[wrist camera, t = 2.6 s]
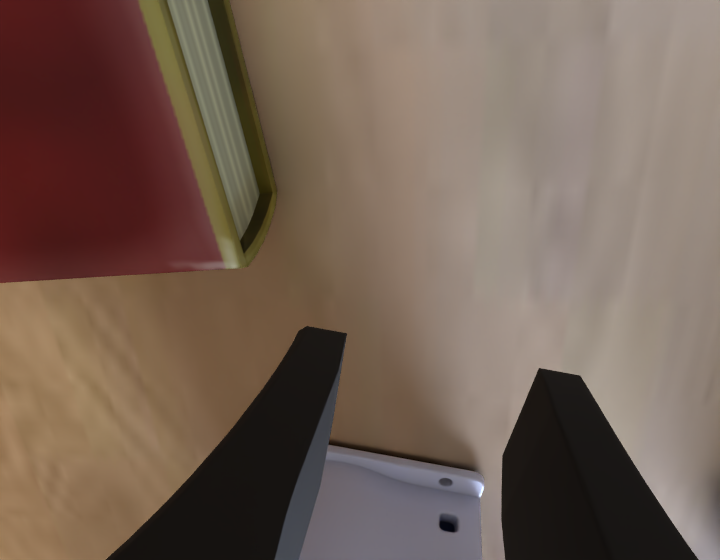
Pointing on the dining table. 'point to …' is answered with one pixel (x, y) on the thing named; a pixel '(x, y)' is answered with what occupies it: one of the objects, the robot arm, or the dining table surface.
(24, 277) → the hardcover book
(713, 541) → the dining table surface
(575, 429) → the robot arm
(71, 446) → the dining table surface
